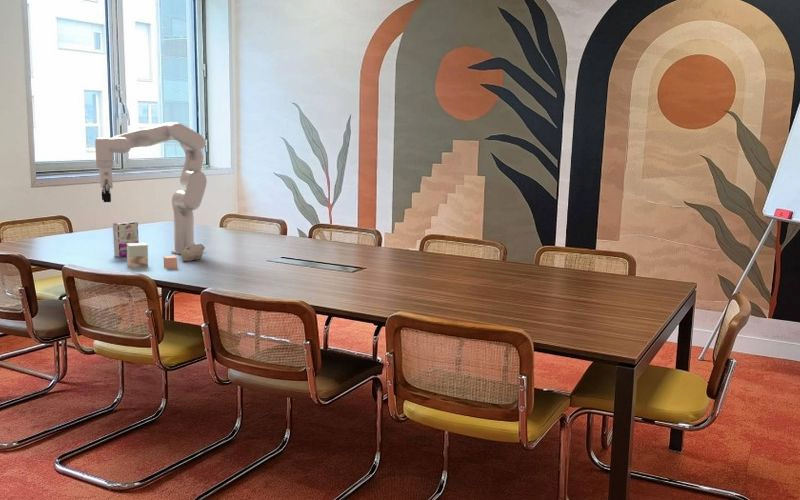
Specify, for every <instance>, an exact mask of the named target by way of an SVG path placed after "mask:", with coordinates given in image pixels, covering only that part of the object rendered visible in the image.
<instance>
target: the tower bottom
mask: <svg viewBox="0 0 800 500" xmlns="http://www.w3.org/2000/svg"><path fill="white" fill-rule="evenodd" d="M148 256H149V255H148ZM148 256H137V257H129V256H128V255H127V256H126V264H127V266H128V268H142V267H141V266H147V267H149V257H148Z"/></svg>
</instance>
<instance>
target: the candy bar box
mask: <svg viewBox="0 0 800 500" xmlns="http://www.w3.org/2000/svg"><path fill="white" fill-rule="evenodd" d="M138 224H139V223H138V221H133V220H132V221H124V222H116V223H112V234H113V235H112V237H113V250H114V251H113V253H114V254H113V255H114V257H115V258H125V257H126V258H127V243H140V242H139V225H138Z"/></svg>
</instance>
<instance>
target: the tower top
mask: <svg viewBox="0 0 800 500" xmlns="http://www.w3.org/2000/svg"><path fill="white" fill-rule="evenodd" d="M148 247H149V245H148V244H147V243H146V242H139V243H127V255H128V256H129V257H137V256H149V251H148V250H149V249H148Z"/></svg>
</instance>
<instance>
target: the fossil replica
mask: <svg viewBox="0 0 800 500" xmlns="http://www.w3.org/2000/svg"><path fill="white" fill-rule="evenodd" d="M195 244H196V245H189V246H187V247H185V248H184V250H183V251H182V252H181V254H180V258H181V260H183V261H185V262H191V261H193V260H195V261H198V260H201V259H202V258H203V257H204V256H203V254H204V250H205V249H206V248H205V246H203V245H204V244H203V243H195ZM202 244H203V245H202Z"/></svg>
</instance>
